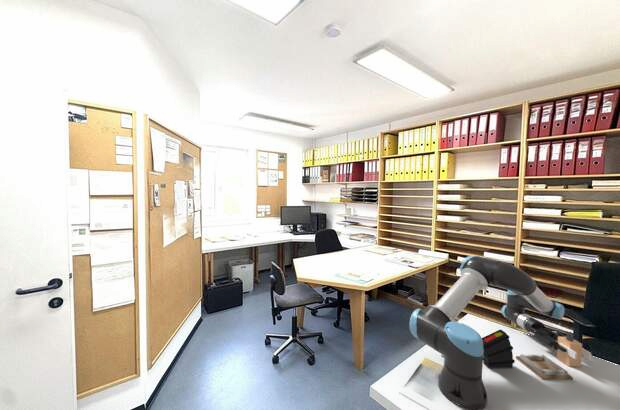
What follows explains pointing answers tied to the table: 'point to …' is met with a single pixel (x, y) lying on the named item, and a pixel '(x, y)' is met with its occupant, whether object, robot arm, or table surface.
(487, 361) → the magazine
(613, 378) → the table surface
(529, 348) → the table surface
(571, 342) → the orange bottle
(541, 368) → the tray
